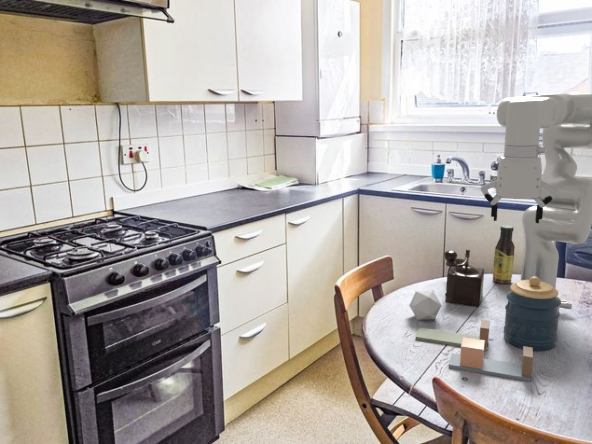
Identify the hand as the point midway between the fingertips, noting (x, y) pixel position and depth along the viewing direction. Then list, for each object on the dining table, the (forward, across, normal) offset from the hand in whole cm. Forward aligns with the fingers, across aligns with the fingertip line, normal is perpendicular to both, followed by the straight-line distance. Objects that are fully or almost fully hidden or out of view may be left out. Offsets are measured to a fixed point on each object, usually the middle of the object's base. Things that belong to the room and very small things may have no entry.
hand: (515, 220), depth 129 cm
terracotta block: (+31, +8, +17) cm, 37 cm away
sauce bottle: (+34, +2, -46) cm, 57 cm away
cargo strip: (+32, +4, +17) cm, 37 cm away
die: (+33, +22, -7) cm, 40 cm away
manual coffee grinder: (+33, +13, -23) cm, 42 cm away
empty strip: (+32, +14, +5) cm, 35 cm away
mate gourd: (+34, +16, -40) cm, 55 cm away
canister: (+33, -6, -2) cm, 33 cm away
